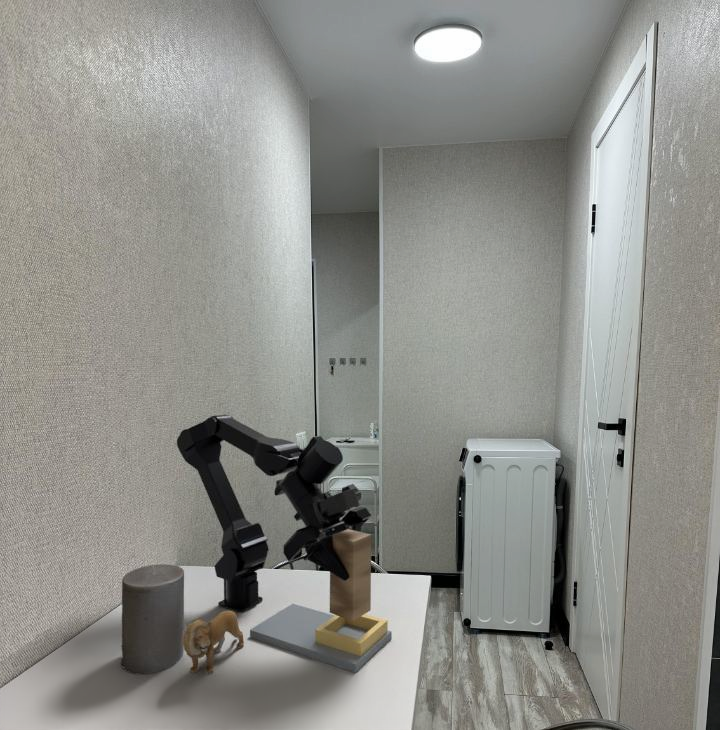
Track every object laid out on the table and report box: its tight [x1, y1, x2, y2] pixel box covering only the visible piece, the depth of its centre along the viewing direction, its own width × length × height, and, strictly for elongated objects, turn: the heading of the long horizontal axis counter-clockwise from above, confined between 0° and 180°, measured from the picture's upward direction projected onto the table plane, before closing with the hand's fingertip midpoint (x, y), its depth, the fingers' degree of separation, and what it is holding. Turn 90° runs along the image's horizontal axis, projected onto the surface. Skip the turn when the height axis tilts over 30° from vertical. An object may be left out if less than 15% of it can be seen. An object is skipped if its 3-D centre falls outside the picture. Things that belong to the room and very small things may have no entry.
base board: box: [249, 603, 393, 673], centre depth 92 cm, size 22×12×3 cm, turn 59°
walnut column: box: [329, 529, 372, 621], centre depth 90 cm, size 5×5×13 cm
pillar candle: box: [120, 563, 185, 675], centre depth 86 cm, size 10×10×15 cm
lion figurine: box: [183, 610, 245, 675], centre depth 85 cm, size 15×5×9 cm, turn 166°
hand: (356, 573), depth 89 cm, fingers closed on walnut column, 5 cm apart
